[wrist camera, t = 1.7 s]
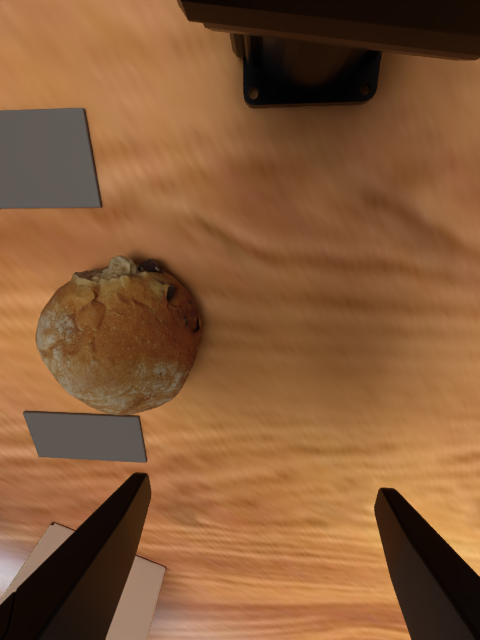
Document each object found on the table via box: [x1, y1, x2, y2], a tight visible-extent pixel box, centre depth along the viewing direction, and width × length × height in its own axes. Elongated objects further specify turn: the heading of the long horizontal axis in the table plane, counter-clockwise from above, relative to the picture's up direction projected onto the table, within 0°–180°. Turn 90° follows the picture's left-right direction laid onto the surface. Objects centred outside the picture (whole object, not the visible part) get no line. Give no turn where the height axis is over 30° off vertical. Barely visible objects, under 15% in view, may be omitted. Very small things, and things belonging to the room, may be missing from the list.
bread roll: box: [36, 255, 202, 415], centre depth 18 cm, size 10×10×8 cm
